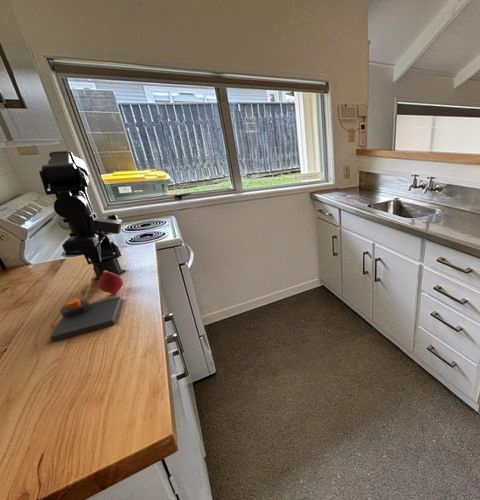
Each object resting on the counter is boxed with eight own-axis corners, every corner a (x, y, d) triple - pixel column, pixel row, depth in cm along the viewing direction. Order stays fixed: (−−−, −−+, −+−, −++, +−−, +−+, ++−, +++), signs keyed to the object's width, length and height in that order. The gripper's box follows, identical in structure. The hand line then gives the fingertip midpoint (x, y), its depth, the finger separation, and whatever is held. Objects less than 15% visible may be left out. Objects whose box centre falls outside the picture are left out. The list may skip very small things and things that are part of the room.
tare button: (69, 306, 77) (67, 300, 77) (82, 303, 79) (80, 297, 78) (66, 311, 75) (63, 305, 74) (80, 307, 76) (77, 302, 76)
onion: (123, 287, 92) (114, 264, 89) (128, 292, 89) (119, 269, 86) (101, 294, 88) (91, 271, 85) (105, 300, 85) (95, 276, 82)
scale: (68, 313, 79) (63, 304, 78) (122, 300, 84) (119, 291, 83) (50, 342, 67) (44, 332, 66) (114, 324, 73) (110, 314, 72)
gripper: (107, 214, 74) (127, 268, 80) (119, 202, 89) (135, 247, 95) (50, 221, 69) (76, 278, 75) (73, 207, 84) (93, 255, 90)
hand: (98, 263), depth 84 cm, fingers closed
